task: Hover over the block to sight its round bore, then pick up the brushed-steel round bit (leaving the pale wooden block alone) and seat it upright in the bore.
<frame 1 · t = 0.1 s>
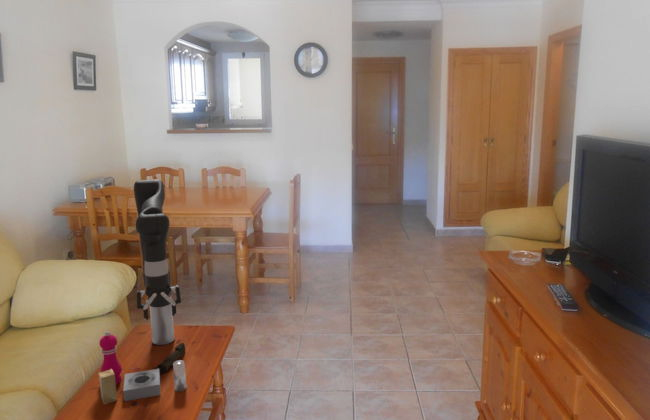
hand: (160, 316, 173), 29 cm above the table, fingers open, 8 cm apart
pepper mill: (112, 382, 187), on the table
hand tool: (172, 362, 202), on the table
round bit: (180, 388, 182), on the table
pale wooden block: (109, 399, 176), on the table
bore block: (142, 389, 182), on the table
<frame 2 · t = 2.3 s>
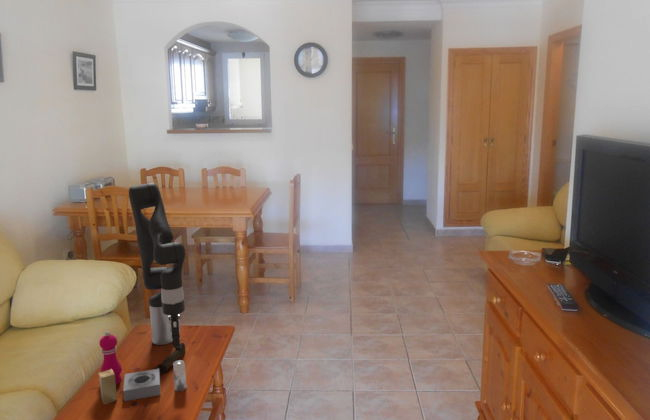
hand: (176, 342, 179), 18 cm above the table, fingers open, 8 cm apart
nothing on the table moved.
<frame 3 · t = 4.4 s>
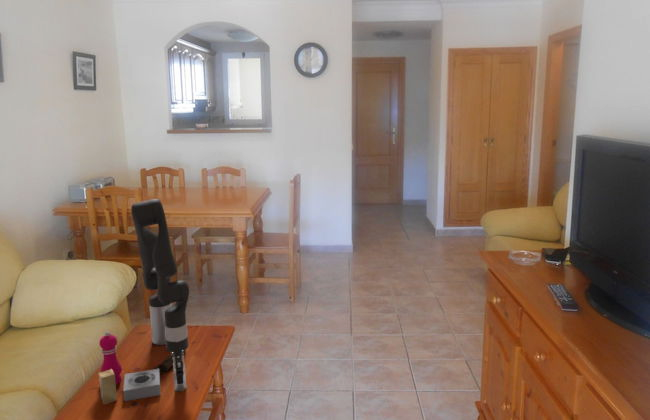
hand: (180, 380, 182), 3 cm above the table, fingers closed on round bit, 4 cm apart
round bit: (180, 388, 182), on the table, touching gripper
everything else where it was.
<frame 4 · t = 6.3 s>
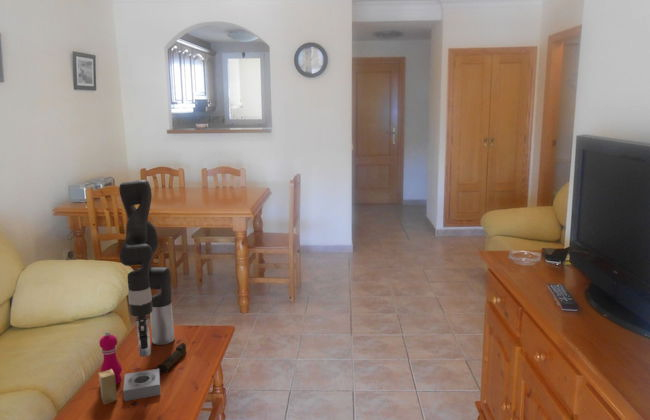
hand: (144, 345, 179), 17 cm above the table, fingers closed on round bit, 4 cm apart
round bit: (145, 353, 180), point 14 cm above the table, touching gripper
everything else where it was.
when the fingers open (5 cm above the table, at t = 8.6 s): round bit drops 1 cm, resting in bore block.
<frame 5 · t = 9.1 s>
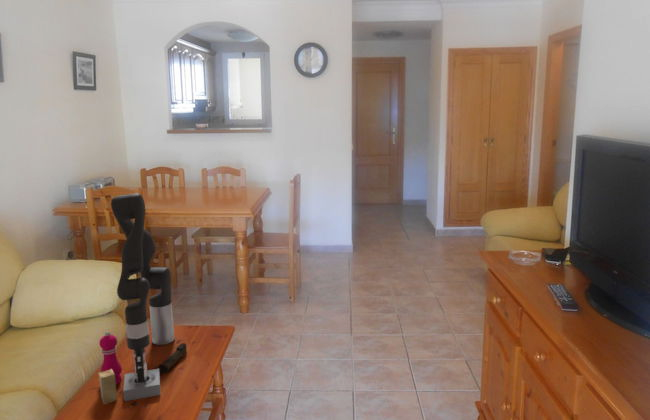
hand: (141, 375, 181), 6 cm above the table, fingers open, 8 cm apart
round bit: (142, 389, 182), resting in bore block
everything else where it was.
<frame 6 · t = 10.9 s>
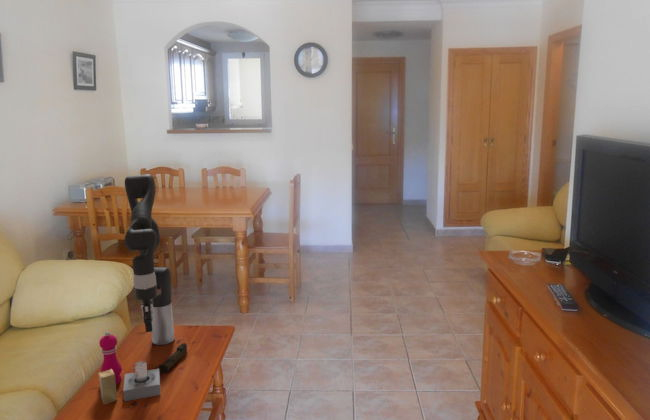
hand: (149, 326, 182), 22 cm above the table, fingers open, 8 cm apart
nothing on the table moved.
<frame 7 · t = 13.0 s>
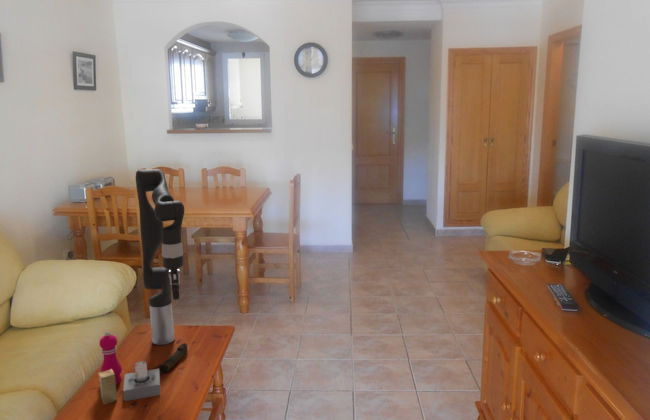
hand: (175, 295, 191), 30 cm above the table, fingers open, 8 cm apart
nothing on the table moved.
at the end: round bit 0.0 cm off-centre on the bore block, point 0.0 cm above the bore block's base; round bit tilted 0°; the gripper is holding nothing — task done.
